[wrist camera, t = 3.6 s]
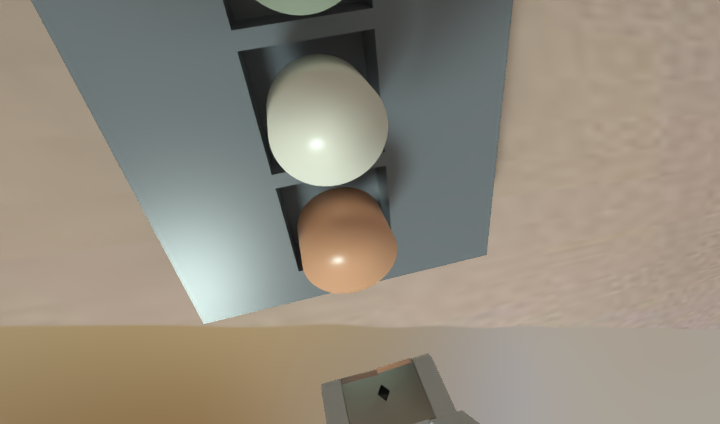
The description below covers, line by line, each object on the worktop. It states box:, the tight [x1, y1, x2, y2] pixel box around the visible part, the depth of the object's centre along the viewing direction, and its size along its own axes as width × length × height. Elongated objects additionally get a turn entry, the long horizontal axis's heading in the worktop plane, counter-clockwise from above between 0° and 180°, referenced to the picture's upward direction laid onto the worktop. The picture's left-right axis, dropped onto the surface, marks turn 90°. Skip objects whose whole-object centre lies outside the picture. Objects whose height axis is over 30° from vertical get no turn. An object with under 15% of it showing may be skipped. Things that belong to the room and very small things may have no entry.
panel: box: [31, 0, 513, 324], centre depth 15 cm, size 14×18×3 cm
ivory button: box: [266, 54, 388, 186], centre depth 12 cm, size 4×4×2 cm
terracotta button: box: [297, 187, 397, 293], centre depth 15 cm, size 4×4×2 cm
